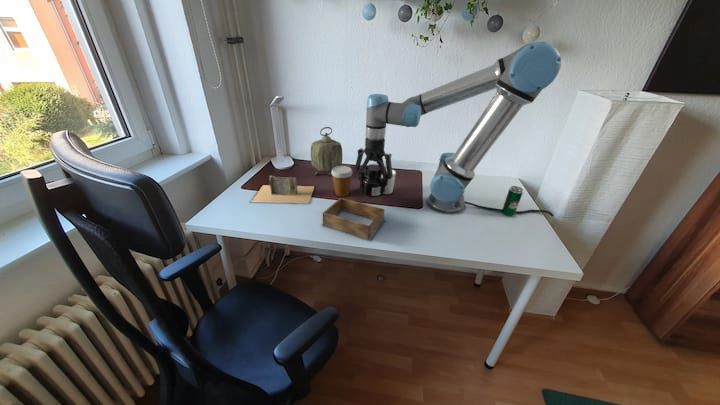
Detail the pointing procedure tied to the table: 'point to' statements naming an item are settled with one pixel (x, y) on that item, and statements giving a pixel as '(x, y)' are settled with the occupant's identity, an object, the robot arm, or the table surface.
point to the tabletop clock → (326, 153)
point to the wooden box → (352, 226)
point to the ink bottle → (372, 181)
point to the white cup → (390, 184)
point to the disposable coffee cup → (341, 180)
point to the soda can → (512, 200)
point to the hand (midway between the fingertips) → (372, 189)
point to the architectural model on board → (284, 191)
